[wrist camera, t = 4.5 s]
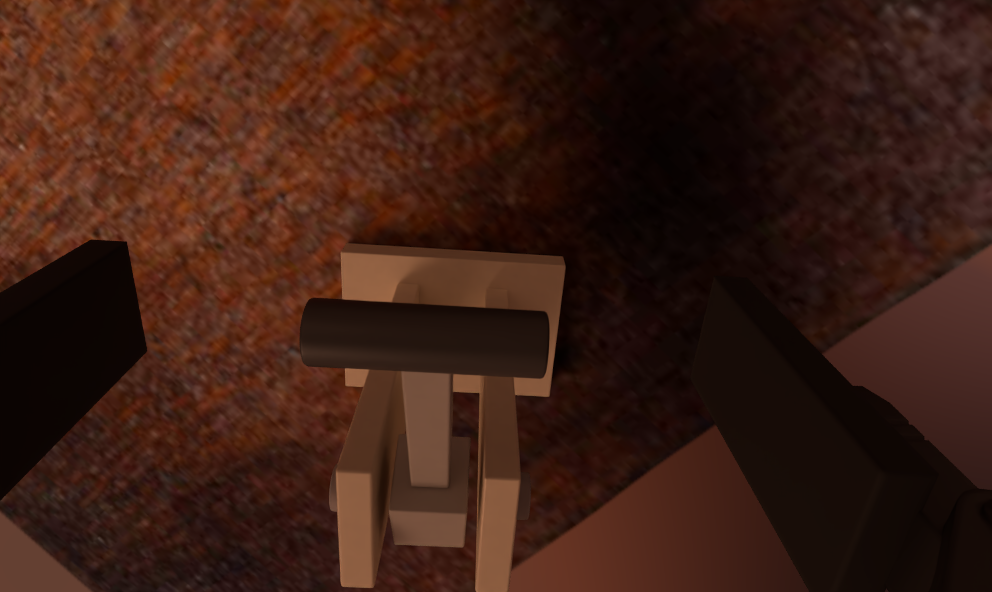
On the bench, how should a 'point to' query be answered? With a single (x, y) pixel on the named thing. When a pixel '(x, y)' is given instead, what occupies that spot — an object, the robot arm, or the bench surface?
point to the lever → (426, 390)
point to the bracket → (381, 407)
